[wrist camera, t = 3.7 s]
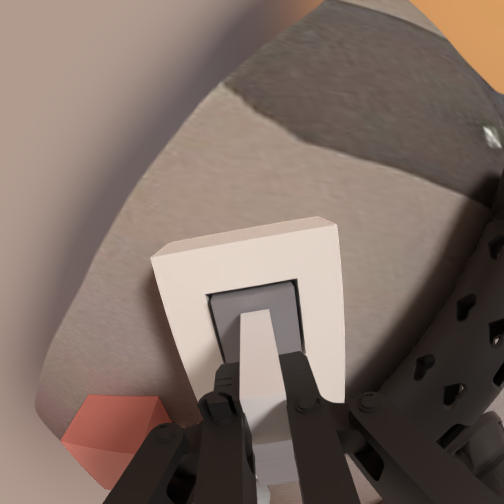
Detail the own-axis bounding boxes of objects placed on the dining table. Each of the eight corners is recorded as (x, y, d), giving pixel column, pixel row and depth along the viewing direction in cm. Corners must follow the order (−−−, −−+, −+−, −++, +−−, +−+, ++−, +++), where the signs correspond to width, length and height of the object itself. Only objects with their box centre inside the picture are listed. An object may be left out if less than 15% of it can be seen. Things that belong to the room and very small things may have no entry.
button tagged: (291, 324, 19) (302, 355, 15) (230, 334, 19) (227, 368, 16) (283, 265, 18) (294, 287, 14) (217, 277, 18) (210, 301, 14)
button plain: (307, 444, 20) (315, 477, 16) (258, 451, 20) (260, 486, 16) (304, 414, 19) (314, 451, 15) (249, 423, 19) (251, 461, 15)
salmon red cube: (186, 447, 23) (176, 499, 16) (121, 444, 23) (104, 488, 16) (158, 396, 21) (138, 454, 15) (89, 394, 21) (60, 440, 15)
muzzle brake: (329, 397, 22) (362, 488, 12) (486, 139, 17) (570, 136, 7) (391, 417, 23) (429, 484, 13) (524, 201, 18) (593, 216, 8)
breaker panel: (331, 434, 23) (340, 463, 19) (233, 450, 23) (232, 480, 19) (317, 216, 18) (337, 224, 14) (166, 243, 18) (147, 258, 14)
